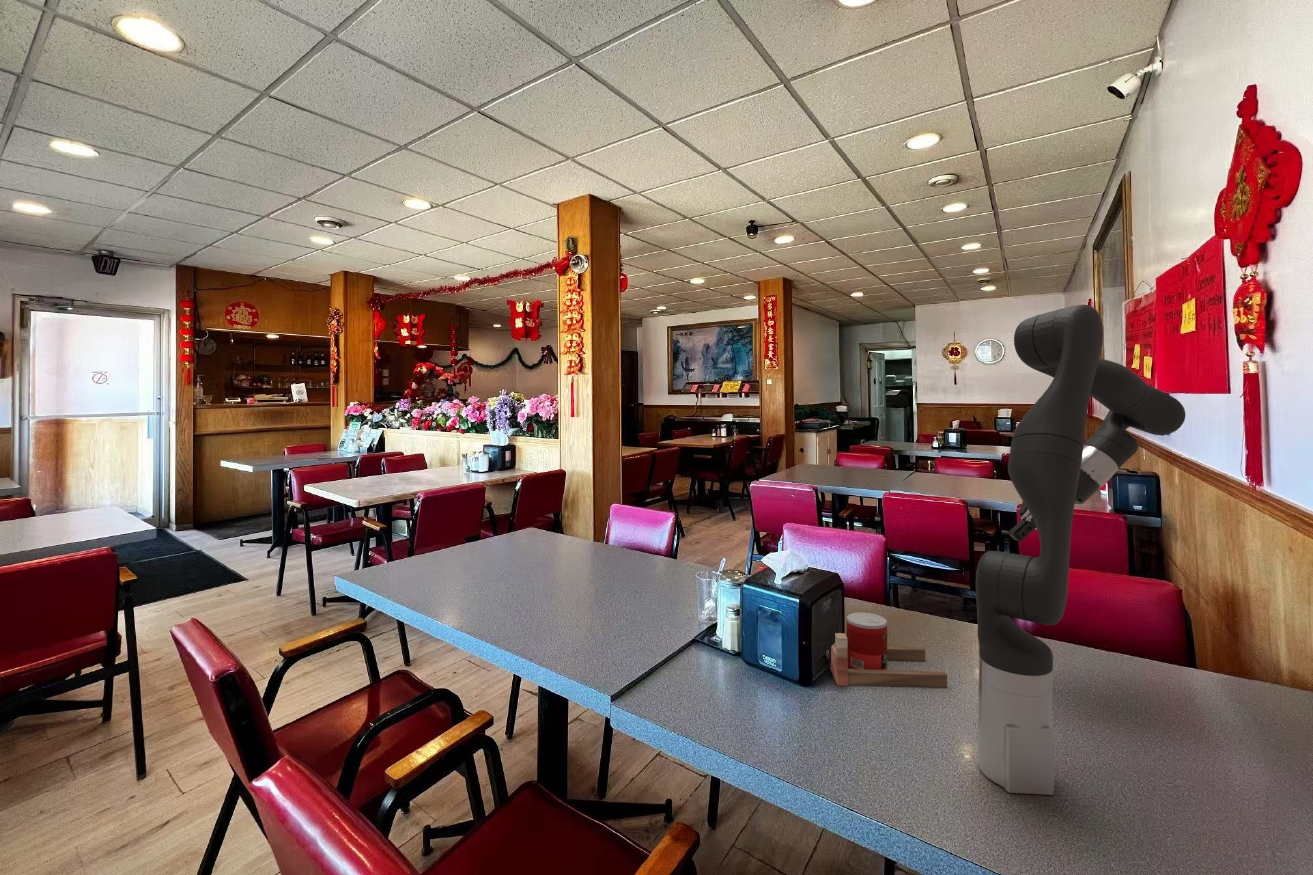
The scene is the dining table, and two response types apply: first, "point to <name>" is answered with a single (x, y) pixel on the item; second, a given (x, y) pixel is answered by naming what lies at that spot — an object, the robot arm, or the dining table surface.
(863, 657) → the canned food
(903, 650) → the rail
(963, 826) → the dining table surface
